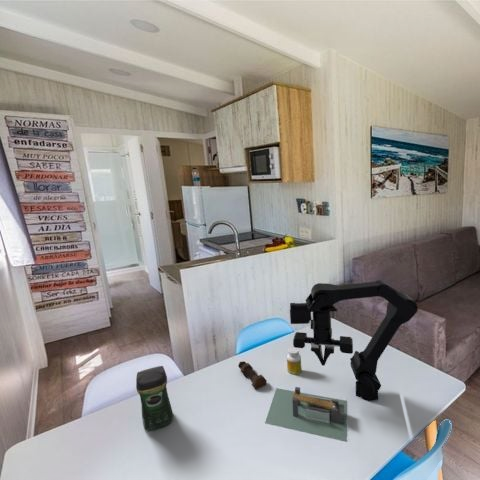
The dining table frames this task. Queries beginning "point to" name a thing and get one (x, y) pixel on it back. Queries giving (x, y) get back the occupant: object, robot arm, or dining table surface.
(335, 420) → the block
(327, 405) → the brown long flat bar
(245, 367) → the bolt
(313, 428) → the board
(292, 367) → the supplement bottle
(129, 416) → the dining table surface
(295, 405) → the lug fork
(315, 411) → the heatsink
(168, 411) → the coffee jar
